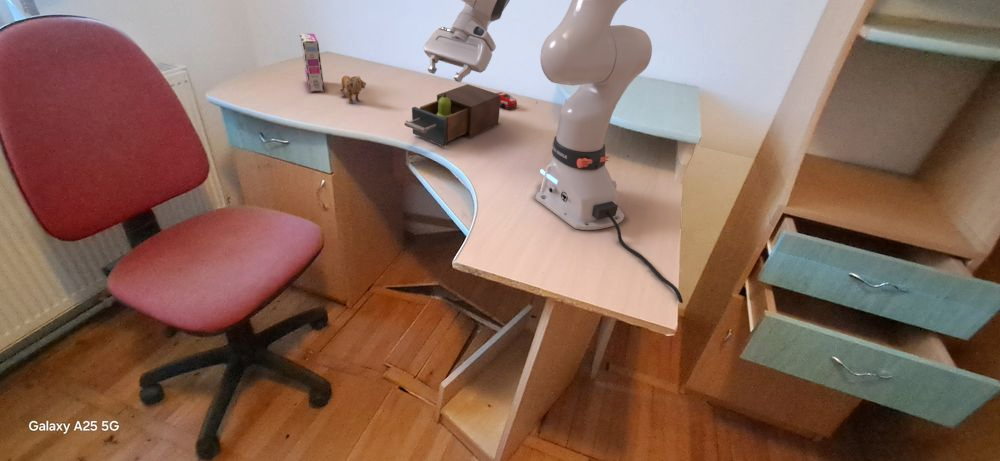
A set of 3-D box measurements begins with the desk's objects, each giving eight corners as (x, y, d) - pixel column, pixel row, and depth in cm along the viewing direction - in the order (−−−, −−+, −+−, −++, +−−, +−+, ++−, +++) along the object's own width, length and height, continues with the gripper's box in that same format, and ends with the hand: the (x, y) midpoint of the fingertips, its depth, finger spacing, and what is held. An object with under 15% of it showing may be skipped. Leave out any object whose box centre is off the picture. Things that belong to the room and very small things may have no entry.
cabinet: (470, 138, 134) (471, 106, 129) (436, 125, 140) (436, 94, 134) (498, 124, 145) (500, 94, 139) (466, 112, 150) (467, 84, 145)
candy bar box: (325, 92, 155) (318, 41, 145) (310, 93, 153) (301, 41, 143) (321, 81, 163) (314, 32, 153) (306, 82, 161) (298, 33, 151)
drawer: (430, 152, 123) (430, 125, 118) (398, 139, 128) (397, 112, 123) (473, 132, 136) (474, 107, 131) (443, 120, 141) (443, 96, 136)
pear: (457, 129, 134) (458, 93, 128) (445, 134, 130) (445, 98, 124) (443, 123, 136) (443, 88, 130) (431, 128, 133) (430, 92, 126)
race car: (479, 101, 160) (480, 89, 158) (488, 97, 164) (489, 86, 161) (509, 111, 154) (510, 100, 152) (518, 107, 158) (519, 96, 155)
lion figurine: (369, 104, 149) (367, 76, 144) (355, 107, 146) (352, 79, 141) (347, 90, 157) (344, 64, 152) (333, 93, 154) (329, 66, 149)
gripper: (433, 18, 126) (409, 60, 125) (492, 33, 118) (467, 78, 117) (443, 33, 132) (421, 73, 131) (501, 48, 123) (477, 92, 122)
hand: (443, 76), depth 124 cm, fingers open, 8 cm apart
